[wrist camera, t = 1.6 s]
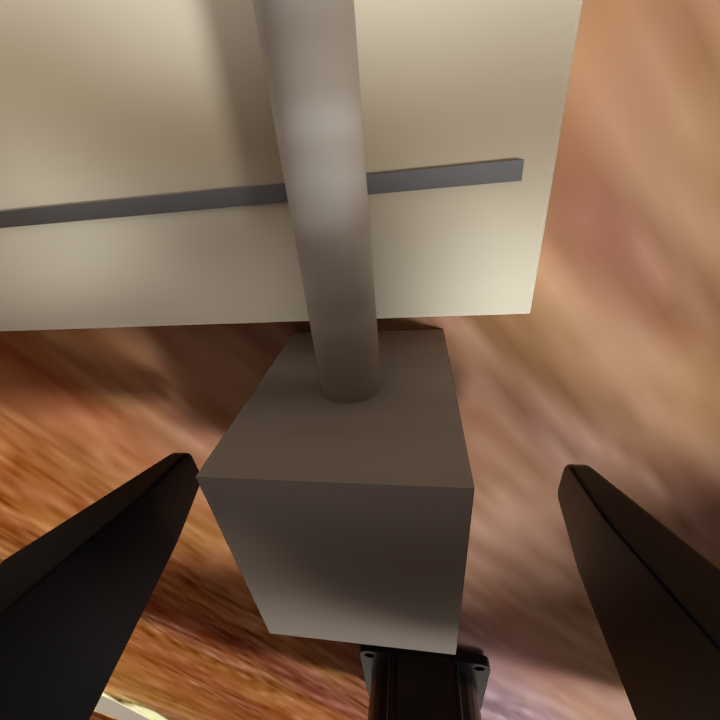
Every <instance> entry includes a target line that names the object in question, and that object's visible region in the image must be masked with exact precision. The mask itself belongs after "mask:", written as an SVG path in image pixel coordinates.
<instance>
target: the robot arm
mask: <svg viewBox="0 0 720 720" xmlns="http://www.w3.org/2000/svg"><path fill="white" fill-rule="evenodd" d="M198 473H199V470H198V468H197V466H196V464H195V462H194V460H193V457H192V456H191V455H190V454H189V453H173V454H170V455H169V456H167V457H166V458H164V459H163V460H161V461H159V462H158V463H156V464H155V465H153V466H152V467H150V468H148V469H147V470H145V471H144V472H142V473H141V474H139V475H137V476H136V477H134V478H133V479H131V480H129V481H128V482H126V483H125V484H123V485H122V486H120V487H118V488H117V489H115V490H114V491H112V492H111V493H109V494H107V495H106V496H104V497H103V498H101V499H100V500H98V501H96V502H95V503H93V504H92V505H90V506H89V507H87V508H85V509H84V510H82V511H81V512H79V513H78V514H76V515H74V516H73V517H71V518H70V519H68V520H67V521H65V522H63V523H62V524H60V525H59V526H57V527H55V528H54V529H52V530H51V531H49V532H48V533H46V534H44V535H43V536H41V537H40V538H38V539H37V540H35V541H33V542H32V543H30V544H29V545H27V546H26V547H24V548H22V549H21V550H19V551H18V552H16V553H15V554H13V555H11V556H10V557H8V558H7V559H5V560H4V561H3V562H2V563H1V564H0V720H89V719H90V717H91V715H92V713H93V711H94V709H95V707H96V705H97V703H98V701H99V699H100V697H101V695H102V693H103V691H104V689H105V687H106V685H107V683H108V681H109V679H110V677H111V675H112V673H113V671H114V669H115V667H116V665H117V663H118V661H119V659H120V657H121V655H122V653H123V651H124V649H125V647H126V645H127V643H128V641H129V639H130V637H131V635H132V632H133V630H134V628H135V626H136V624H137V622H138V620H139V618H140V616H141V614H142V612H143V610H144V608H145V606H146V604H147V602H148V600H149V598H150V596H151V594H152V592H153V590H154V588H155V586H156V584H157V582H158V580H159V578H160V576H161V574H162V572H163V570H164V568H165V566H166V564H167V562H168V560H169V558H170V556H171V554H172V552H173V550H174V548H175V546H176V543H177V541H178V539H179V536H180V534H181V532H182V529H183V527H184V524H185V521H186V519H187V516H188V514H189V511H190V508H191V506H192V503H193V501H194V498H195V496H196V493H197V490H198V488H199V483H198V480H197V478H196V475H197V474H198ZM558 499H559V503H560V506H561V510H562V514H563V517H564V521H565V524H566V528H567V532H568V535H569V539H570V542H571V546H572V550H573V553H574V557H575V560H576V564H577V567H578V570H579V573H580V576H581V579H582V582H583V584H584V587H585V590H586V592H587V595H588V597H589V600H590V602H591V605H592V607H593V610H594V612H595V615H596V618H597V620H598V623H599V625H600V628H601V630H602V633H603V635H604V638H605V640H606V643H607V645H608V648H609V651H610V653H611V656H612V658H613V661H614V663H615V666H616V668H617V671H618V673H619V676H620V679H621V681H622V684H623V686H624V689H625V691H626V694H627V696H628V699H629V701H630V704H631V707H632V709H633V712H634V714H635V717H636V719H637V720H720V569H719V568H718V567H716V566H715V565H714V564H713V563H711V562H710V561H709V560H708V559H706V558H705V557H704V556H703V555H701V554H700V553H699V552H697V551H696V550H695V549H694V548H692V547H691V546H690V545H689V544H687V543H686V542H685V541H684V540H682V539H681V538H680V537H678V536H677V535H676V534H675V533H673V532H672V531H671V530H670V529H668V528H667V527H666V526H665V525H663V524H662V523H661V522H659V521H658V520H657V519H656V518H654V517H653V516H652V515H651V514H649V513H648V512H647V511H646V510H644V509H643V508H642V507H640V506H639V505H638V504H637V503H635V502H634V501H633V500H632V499H630V498H629V497H628V496H627V495H625V494H624V493H623V492H621V491H620V490H619V489H618V488H616V487H615V486H614V485H613V484H611V483H610V482H609V481H608V480H606V479H605V478H604V477H603V476H601V475H600V474H599V473H597V472H596V471H595V470H594V469H592V468H591V467H589V466H587V465H575V464H569V465H567V466H566V467H565V468H564V471H563V474H562V478H561V481H560V485H559V488H558ZM360 658H361V663H362V667H363V672H364V677H365V682H366V687H367V691H368V695H369V696H370V698H369V712H368V720H481V713H480V710H481V706H482V702H483V698H484V694H485V690H486V686H487V681H488V677H489V673H490V666H489V660H488V658H487V657H486V656H484V655H480V654H471V653H463V652H456V655H453V654H444V653H436V652H427V651H419V650H410V649H401V648H393V647H384V646H375V645H367V644H361V647H360Z"/></svg>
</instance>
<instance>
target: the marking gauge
mask: <svg viewBox="0 0 720 720" xmlns="http://www.w3.org/2000/svg"><path fill="white" fill-rule="evenodd" d="M252 1H253V7H254V13H255V18H256V24H257V30H258V35H259V41H260V46H261V52H262V58H263V63H264V69H265V75H266V80H267V86H268V91H269V97H270V103H271V108H272V114H273V119H274V125H275V131H276V136H277V142H278V148H279V153H280V159H281V164H282V170H283V176H284V181H285V187H286V193H287V198H288V204H289V209H290V215H291V221H292V226H293V232H294V237H295V243H296V249H297V254H298V260H299V266H300V271H301V277H302V282H303V288H304V294H305V299H306V305H307V311H308V316H309V322H310V327H311V332H310V333H293V334H292V336H291V337H290V339H289V340H288V342H287V343H286V344H285V346H284V347H283V349H282V350H281V352H280V353H279V355H278V356H277V358H276V359H275V361H274V362H273V364H272V365H271V367H270V368H269V370H268V371H267V372H266V374H265V375H264V377H263V378H262V380H261V381H260V383H259V384H258V386H257V387H256V389H255V390H254V392H253V393H252V395H251V396H250V397H249V399H248V400H247V402H246V403H245V405H244V406H243V408H242V409H241V411H240V412H239V414H238V415H237V417H236V418H235V420H234V421H233V422H232V424H231V425H230V427H229V428H228V430H227V431H226V433H225V434H224V436H223V437H222V439H221V440H220V442H219V443H218V445H217V446H216V447H215V449H214V450H213V452H212V453H211V455H210V456H209V458H208V459H207V461H206V462H205V464H204V465H203V467H202V468H201V470H200V471H199V473H198V474H197V475H196V478H197V480H198V483H199V485H200V487H201V489H202V491H203V493H204V495H205V497H206V499H207V502H208V504H209V506H210V508H211V510H212V512H213V514H214V516H215V518H216V521H217V523H218V525H219V527H220V529H221V531H222V533H223V535H224V537H225V540H226V542H227V544H228V546H229V548H230V550H231V552H232V554H233V556H234V559H235V561H236V563H237V565H238V567H239V569H240V571H241V573H242V575H243V578H244V580H245V582H246V584H247V586H248V588H249V590H250V592H251V595H252V597H253V599H254V601H255V603H256V605H257V607H258V609H259V611H260V614H261V616H262V618H263V620H264V622H265V624H266V626H267V628H268V630H269V633H272V634H280V635H289V636H298V637H306V638H315V639H324V640H332V641H341V642H349V643H358V644H367V645H375V646H384V647H393V648H401V649H410V650H419V651H427V652H436V653H444V654H453V655H456V648H457V639H458V630H459V621H460V612H461V603H462V594H463V585H464V576H465V567H466V558H467V550H468V541H469V532H470V523H471V514H472V505H473V496H474V484H473V479H472V474H471V469H470V464H469V458H468V453H467V448H466V443H465V438H464V433H463V428H462V423H461V418H460V413H459V407H458V402H457V397H456V392H455V387H454V382H453V377H452V372H451V367H450V362H449V356H448V351H447V346H446V341H445V336H444V331H443V329H415V330H380V331H377V317H376V303H375V289H374V275H373V261H372V247H371V233H370V219H369V206H368V192H367V178H366V164H365V150H364V136H363V122H362V108H361V94H360V80H359V66H358V52H357V38H356V24H355V10H354V0H252Z"/></svg>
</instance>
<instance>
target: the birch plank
mask: <svg viewBox="0 0 720 720" xmlns="http://www.w3.org/2000/svg"><path fill="white" fill-rule="evenodd" d="M582 1H583V0H354V10H355V24H356V38H357V52H358V66H359V80H360V94H361V108H362V122H363V136H364V150H365V164H366V178H367V192H368V206H369V219H370V233H371V247H372V261H373V275H374V289H375V303H376V317H377V319H381V318H410V317H440V316H469V315H499V314H528V313H530V310H531V304H532V298H533V292H534V286H535V280H536V274H537V268H538V263H539V257H540V251H541V245H542V239H543V233H544V227H545V221H546V215H547V209H548V203H549V197H550V191H551V185H552V179H553V173H554V167H555V161H556V155H557V149H558V144H559V138H560V132H561V126H562V120H563V114H564V108H565V102H566V96H567V90H568V84H569V78H570V72H571V66H572V60H573V54H574V48H575V42H576V36H577V30H578V25H579V19H580V13H581V7H582ZM292 321H309V316H308V311H307V305H306V299H305V294H304V288H303V282H302V277H301V271H300V266H299V260H298V254H297V249H296V243H295V237H294V232H293V226H292V221H291V215H290V209H289V204H288V198H287V193H286V187H285V181H284V176H283V170H282V164H281V159H280V153H279V148H278V142H277V136H276V131H275V125H274V119H273V114H272V108H271V103H270V97H269V91H268V86H267V80H266V75H265V69H264V63H263V58H262V52H261V46H260V41H259V35H258V30H257V24H256V18H255V13H254V7H253V1H252V0H0V331H26V330H56V329H85V328H115V327H144V326H174V325H203V324H233V323H262V322H292Z"/></svg>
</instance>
